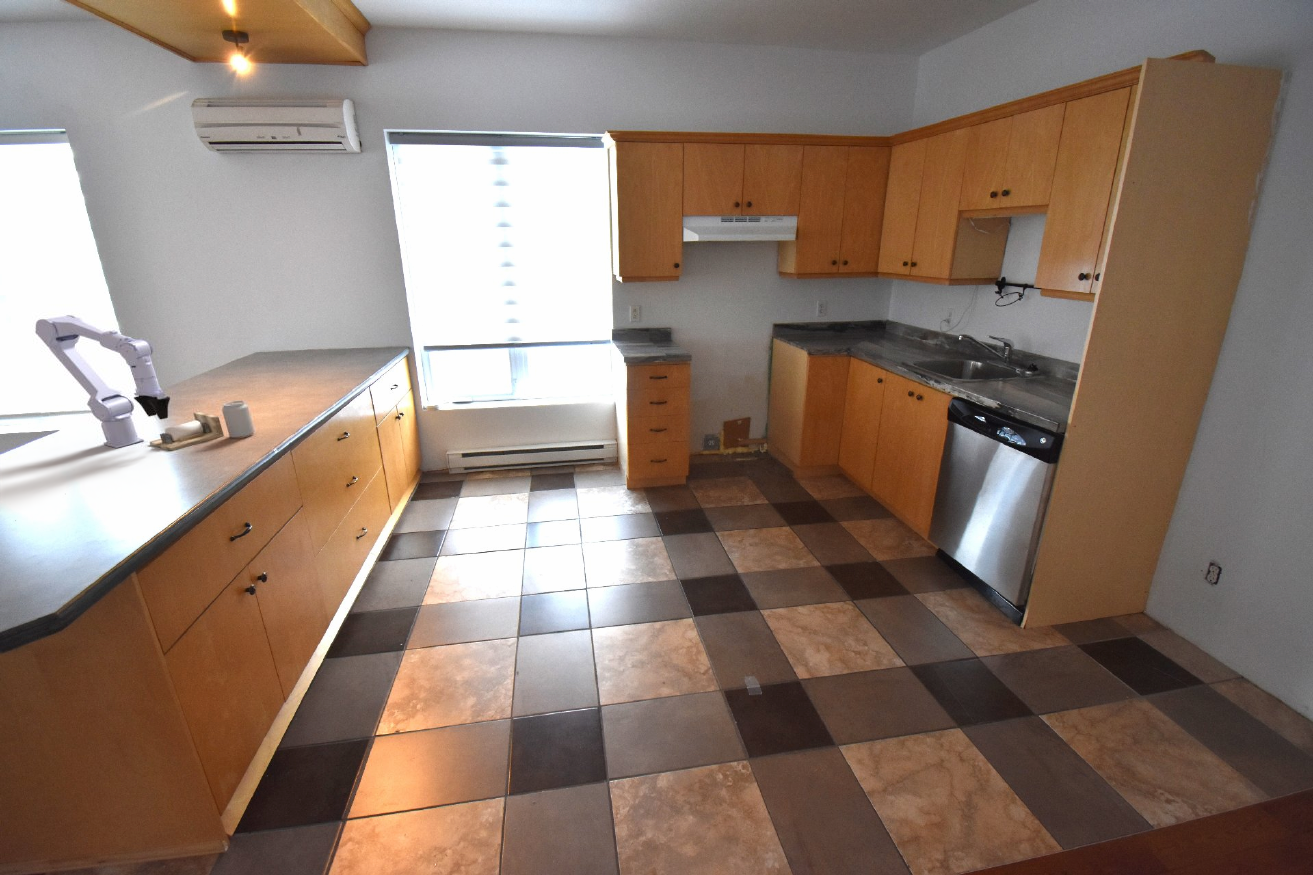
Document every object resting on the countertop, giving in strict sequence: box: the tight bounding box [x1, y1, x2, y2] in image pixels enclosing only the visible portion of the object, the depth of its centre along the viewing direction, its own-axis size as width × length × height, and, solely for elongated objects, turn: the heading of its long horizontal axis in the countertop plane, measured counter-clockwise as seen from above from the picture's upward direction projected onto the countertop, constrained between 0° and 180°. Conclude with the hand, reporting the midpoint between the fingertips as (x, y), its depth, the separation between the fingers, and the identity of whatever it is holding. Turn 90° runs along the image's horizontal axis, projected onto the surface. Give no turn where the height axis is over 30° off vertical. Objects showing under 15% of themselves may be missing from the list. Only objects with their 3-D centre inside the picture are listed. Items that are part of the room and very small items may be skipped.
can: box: [221, 400, 255, 439], centre depth 206 cm, size 8×8×12 cm
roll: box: [164, 420, 203, 442], centre depth 203 cm, size 5×9×5 cm, turn 155°
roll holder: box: [149, 411, 225, 452], centre depth 203 cm, size 14×16×7 cm
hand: (158, 417), depth 198 cm, fingers open, 7 cm apart
